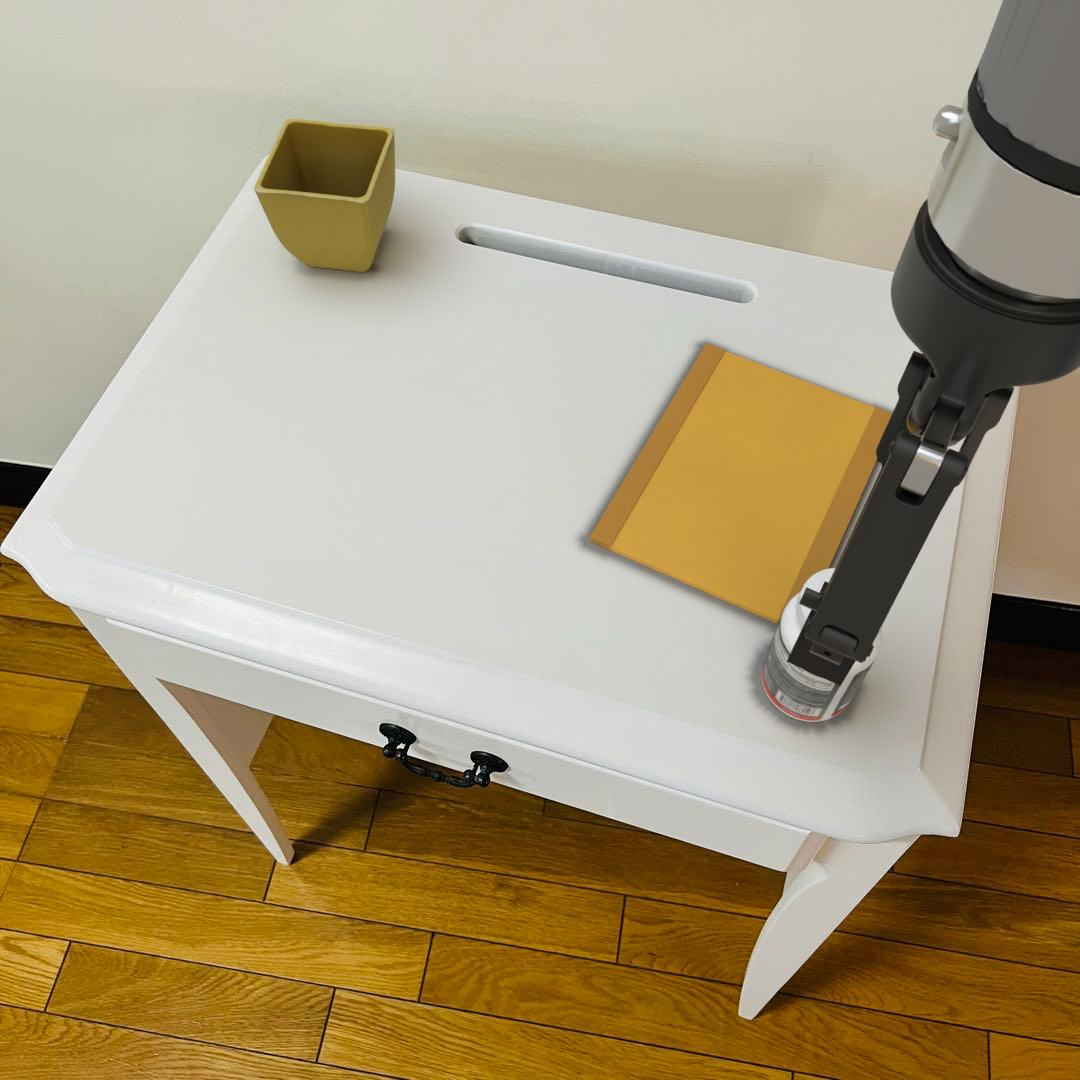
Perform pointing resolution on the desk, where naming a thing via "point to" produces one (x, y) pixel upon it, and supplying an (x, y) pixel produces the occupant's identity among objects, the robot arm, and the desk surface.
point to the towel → (745, 483)
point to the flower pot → (329, 191)
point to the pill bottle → (796, 686)
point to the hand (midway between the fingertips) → (861, 560)
